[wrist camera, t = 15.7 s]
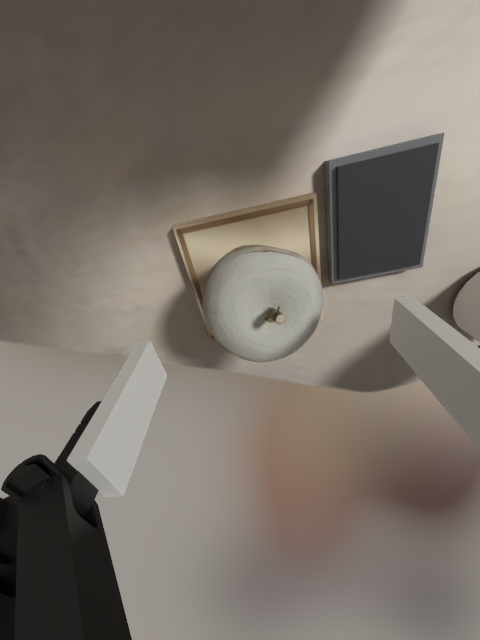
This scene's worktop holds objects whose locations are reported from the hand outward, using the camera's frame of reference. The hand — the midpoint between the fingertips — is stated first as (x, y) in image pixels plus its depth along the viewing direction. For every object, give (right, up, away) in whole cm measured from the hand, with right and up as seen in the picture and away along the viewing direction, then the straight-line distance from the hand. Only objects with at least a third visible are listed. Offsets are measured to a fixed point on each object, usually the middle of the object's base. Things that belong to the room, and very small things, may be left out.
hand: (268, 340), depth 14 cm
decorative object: (0, +5, +10) cm, 11 cm away
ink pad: (+10, +10, +8) cm, 16 cm away
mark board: (0, +5, +10) cm, 12 cm away
